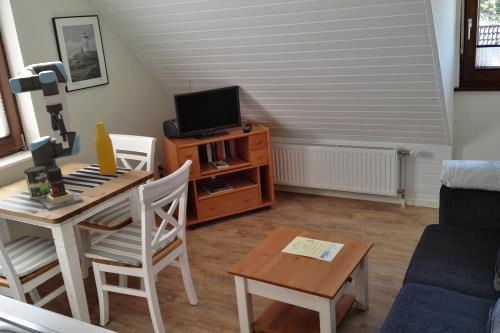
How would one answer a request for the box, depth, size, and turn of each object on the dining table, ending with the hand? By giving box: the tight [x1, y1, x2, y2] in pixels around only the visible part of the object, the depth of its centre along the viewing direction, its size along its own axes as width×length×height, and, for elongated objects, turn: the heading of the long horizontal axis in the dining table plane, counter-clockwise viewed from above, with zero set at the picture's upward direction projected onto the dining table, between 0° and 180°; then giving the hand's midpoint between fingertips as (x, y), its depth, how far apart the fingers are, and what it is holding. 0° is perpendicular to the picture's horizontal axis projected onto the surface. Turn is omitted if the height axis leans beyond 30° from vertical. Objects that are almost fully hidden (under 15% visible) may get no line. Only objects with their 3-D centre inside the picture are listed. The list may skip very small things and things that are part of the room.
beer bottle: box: [94, 121, 118, 176], centre depth 287 cm, size 9×9×29 cm
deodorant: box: [48, 167, 66, 198], centre depth 249 cm, size 6×6×15 cm
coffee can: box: [23, 166, 52, 200], centre depth 263 cm, size 10×10×14 cm
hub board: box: [38, 188, 84, 212], centre depth 251 cm, size 18×16×4 cm
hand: (62, 145), depth 258 cm, fingers open, 13 cm apart
